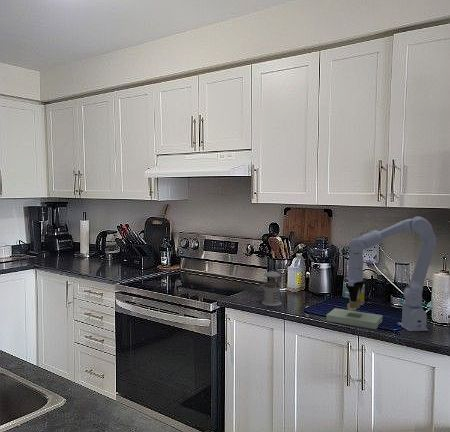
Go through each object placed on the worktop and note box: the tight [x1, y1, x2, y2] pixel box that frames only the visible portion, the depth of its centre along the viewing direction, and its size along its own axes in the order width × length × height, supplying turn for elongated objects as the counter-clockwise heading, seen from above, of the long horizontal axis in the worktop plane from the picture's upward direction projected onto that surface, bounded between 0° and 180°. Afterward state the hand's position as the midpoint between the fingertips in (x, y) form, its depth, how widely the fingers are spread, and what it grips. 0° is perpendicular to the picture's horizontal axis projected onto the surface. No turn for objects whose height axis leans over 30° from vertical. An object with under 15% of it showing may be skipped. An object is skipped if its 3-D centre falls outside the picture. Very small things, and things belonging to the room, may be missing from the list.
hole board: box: [325, 307, 384, 330], centre depth 178 cm, size 20×12×2 cm, turn 59°
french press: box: [261, 251, 282, 307], centre depth 206 cm, size 10×12×25 cm
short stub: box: [346, 302, 357, 311], centre depth 190 cm, size 4×4×4 cm
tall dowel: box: [349, 288, 361, 309], centre depth 178 cm, size 4×4×8 cm
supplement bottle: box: [360, 281, 366, 306], centre depth 205 cm, size 7×7×13 cm
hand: (354, 300), depth 178 cm, fingers closed on tall dowel, 4 cm apart
